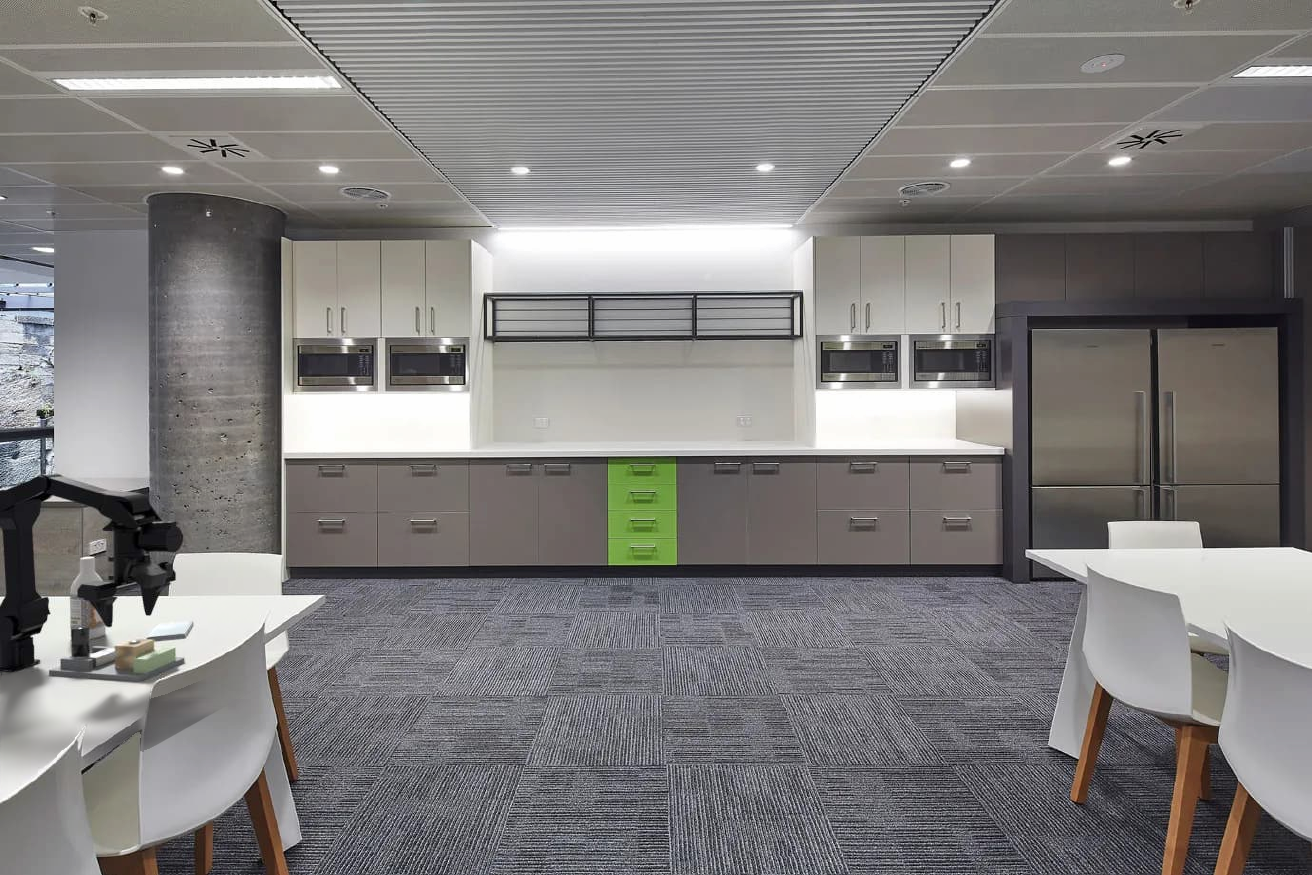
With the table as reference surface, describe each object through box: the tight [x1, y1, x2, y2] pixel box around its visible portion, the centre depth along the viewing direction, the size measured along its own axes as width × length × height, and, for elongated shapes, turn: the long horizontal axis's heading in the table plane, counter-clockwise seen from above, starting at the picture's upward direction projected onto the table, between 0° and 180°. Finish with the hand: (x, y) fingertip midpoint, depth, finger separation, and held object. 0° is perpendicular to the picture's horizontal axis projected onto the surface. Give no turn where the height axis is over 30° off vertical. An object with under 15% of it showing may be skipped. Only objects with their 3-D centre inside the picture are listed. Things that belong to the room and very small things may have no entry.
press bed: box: [48, 645, 185, 682], centre depth 160 cm, size 22×12×4 cm, turn 83°
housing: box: [114, 638, 155, 669], centre depth 160 cm, size 5×5×5 cm
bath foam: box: [69, 556, 107, 640], centre depth 181 cm, size 7×7×20 cm
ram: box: [69, 626, 115, 667], centre depth 161 cm, size 9×6×7 cm
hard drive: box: [145, 620, 194, 641], centre depth 186 cm, size 2×8×12 cm
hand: (129, 621), depth 159 cm, fingers open, 9 cm apart
